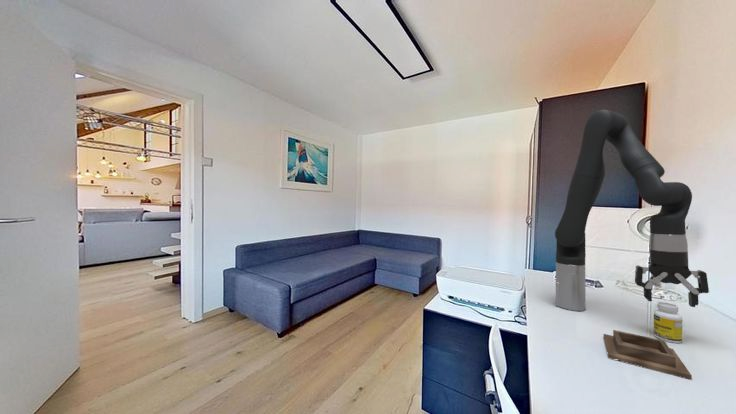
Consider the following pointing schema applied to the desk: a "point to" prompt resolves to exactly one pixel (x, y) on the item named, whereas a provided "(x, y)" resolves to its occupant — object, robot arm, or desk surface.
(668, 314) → the supplement bottle
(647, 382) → the desk surface
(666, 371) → the cup holder
